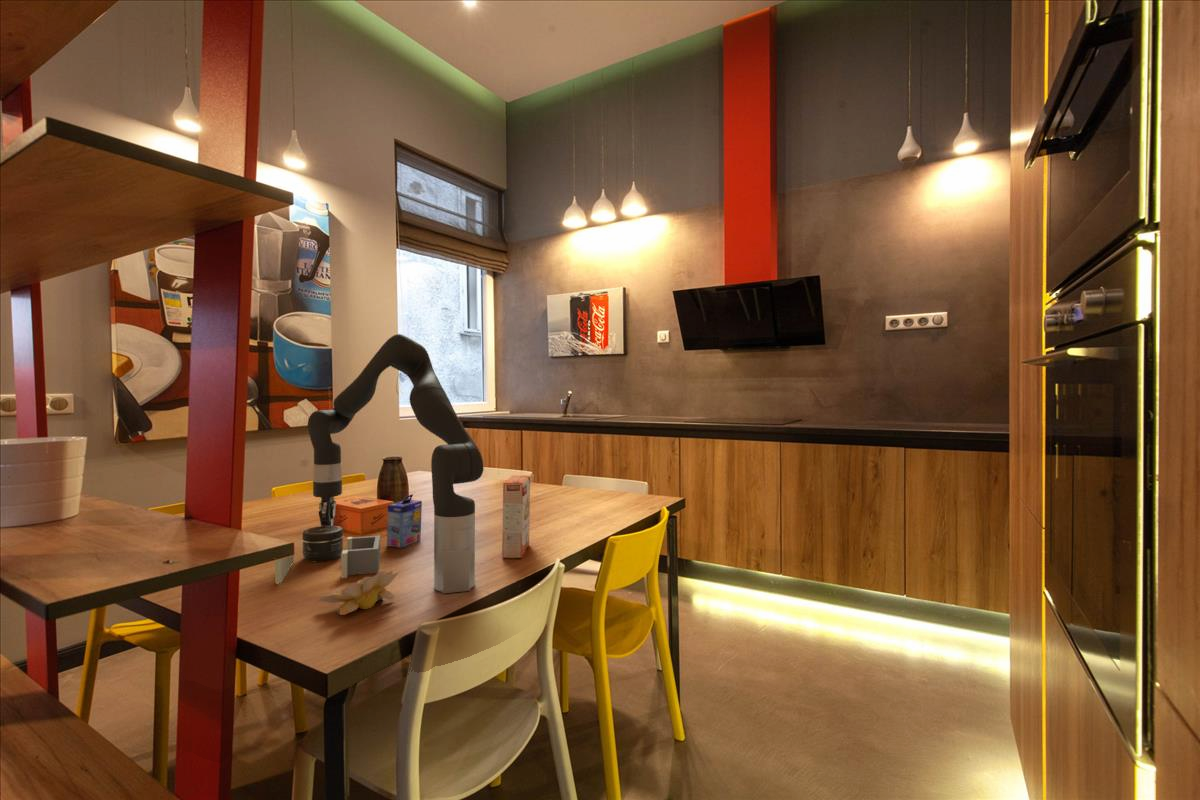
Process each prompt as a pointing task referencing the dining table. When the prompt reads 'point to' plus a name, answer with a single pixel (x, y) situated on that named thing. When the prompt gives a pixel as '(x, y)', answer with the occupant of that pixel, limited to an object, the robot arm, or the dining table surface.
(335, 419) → the robot arm
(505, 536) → the cracker box
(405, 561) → the dining table surface
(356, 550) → the channel
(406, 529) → the ink cartridge box
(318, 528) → the jar
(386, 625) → the dining table surface
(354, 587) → the decorative flower
